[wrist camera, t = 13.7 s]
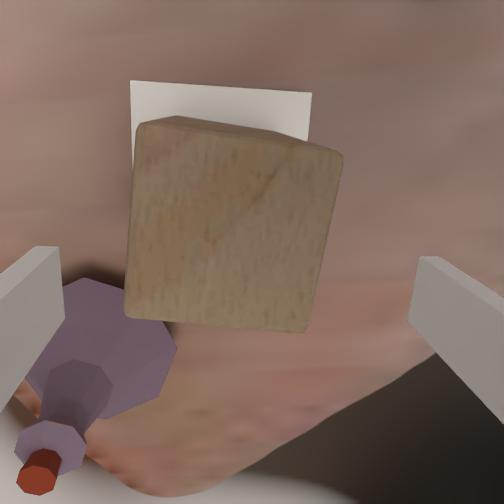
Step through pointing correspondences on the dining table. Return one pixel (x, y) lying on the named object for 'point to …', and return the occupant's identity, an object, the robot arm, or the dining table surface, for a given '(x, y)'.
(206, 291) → the wooden block
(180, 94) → the white square plate
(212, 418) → the dining table surface
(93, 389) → the flask
